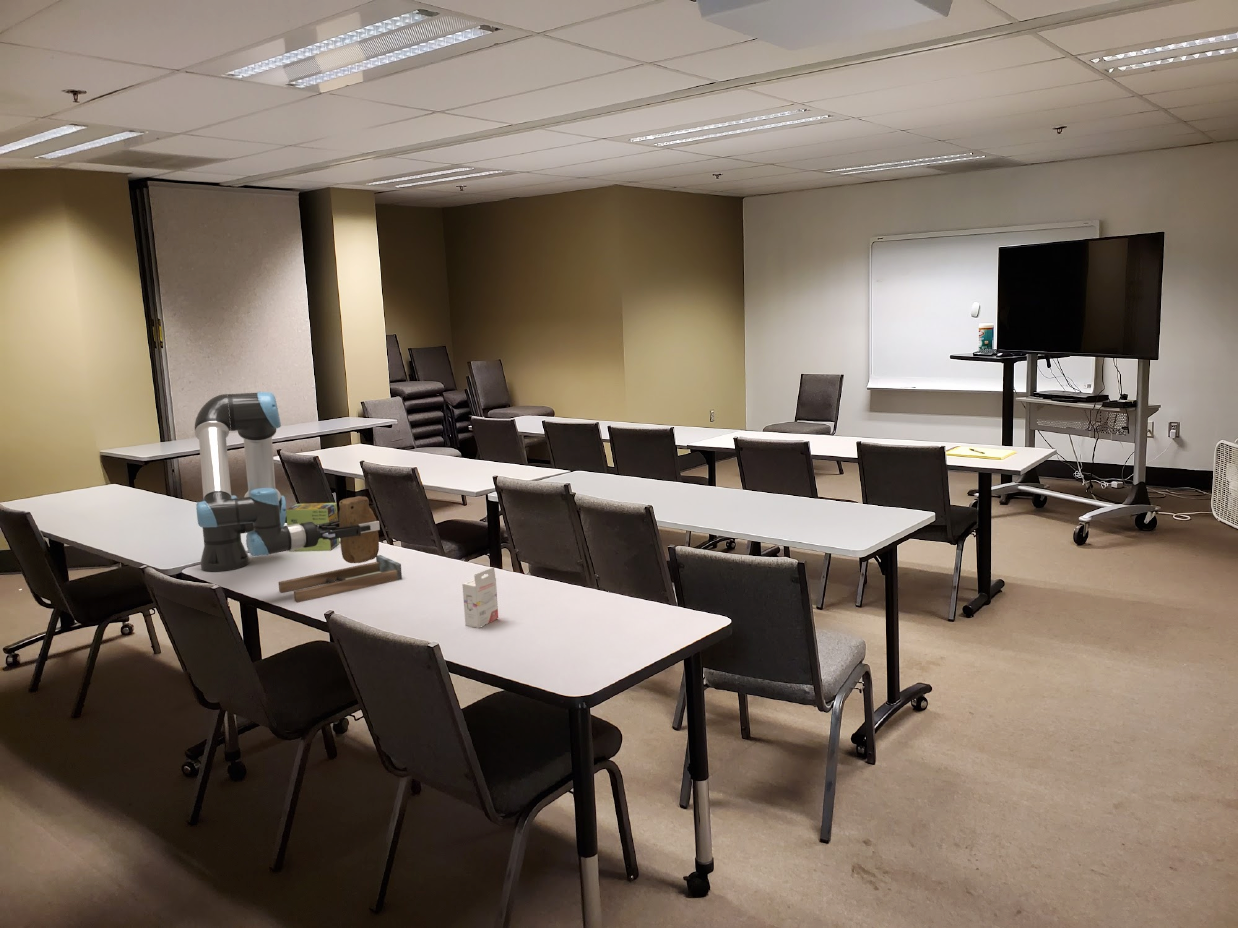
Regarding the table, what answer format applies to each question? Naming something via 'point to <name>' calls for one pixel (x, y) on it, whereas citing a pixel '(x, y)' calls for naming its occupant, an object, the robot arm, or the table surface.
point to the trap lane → (343, 579)
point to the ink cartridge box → (480, 599)
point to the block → (368, 542)
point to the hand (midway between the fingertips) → (373, 523)
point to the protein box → (314, 521)
